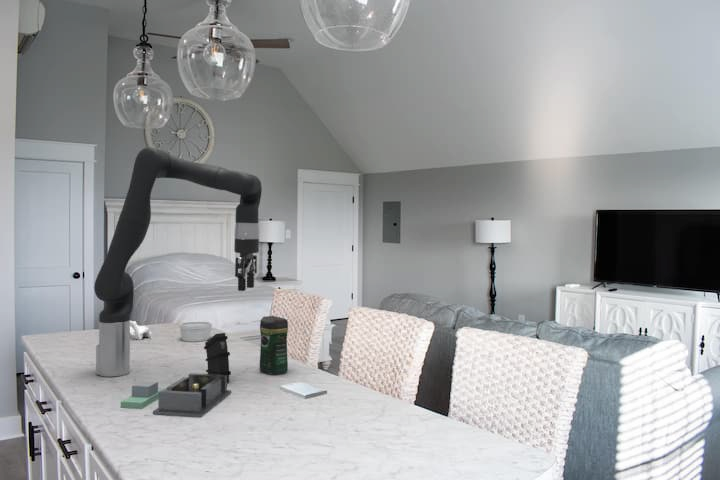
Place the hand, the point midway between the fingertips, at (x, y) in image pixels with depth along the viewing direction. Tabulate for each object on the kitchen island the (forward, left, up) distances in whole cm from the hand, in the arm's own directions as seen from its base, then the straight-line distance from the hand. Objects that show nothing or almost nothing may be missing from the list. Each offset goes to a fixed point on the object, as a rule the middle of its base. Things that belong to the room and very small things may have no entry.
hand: (246, 289), depth 174 cm
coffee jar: (+6, +12, -29) cm, 32 cm away
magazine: (-9, 0, -29) cm, 31 cm away
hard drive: (+21, -8, -30) cm, 37 cm away
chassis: (-6, -24, -29) cm, 38 cm away
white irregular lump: (-69, +55, -29) cm, 93 cm away
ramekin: (-42, +57, -29) cm, 77 cm away
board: (-20, -24, -29) cm, 43 cm away
